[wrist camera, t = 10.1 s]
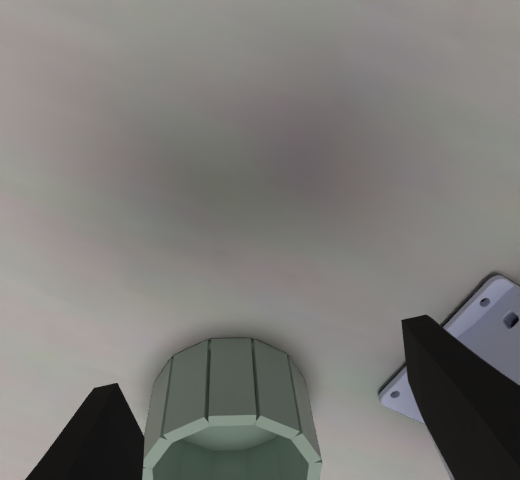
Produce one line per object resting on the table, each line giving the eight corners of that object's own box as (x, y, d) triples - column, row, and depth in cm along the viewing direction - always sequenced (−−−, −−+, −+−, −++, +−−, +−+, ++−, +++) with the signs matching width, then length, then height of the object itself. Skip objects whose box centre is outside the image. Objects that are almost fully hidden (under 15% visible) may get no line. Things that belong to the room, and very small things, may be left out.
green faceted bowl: (200, 314, 24) (195, 389, 19) (333, 375, 26) (356, 453, 22) (128, 419, 26) (109, 505, 22) (254, 465, 29) (259, 550, 24)
